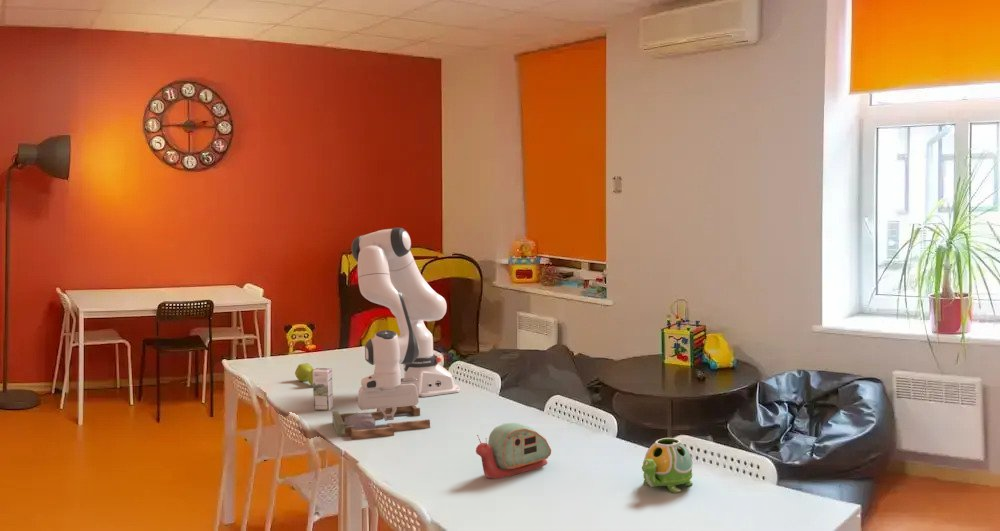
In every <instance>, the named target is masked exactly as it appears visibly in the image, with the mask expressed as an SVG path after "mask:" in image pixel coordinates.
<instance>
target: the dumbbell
mask: <svg viewBox="0 0 1000 531" xmlns="http://www.w3.org/2000/svg"><path fill="white" fill-rule="evenodd" d="M314 369H315V368H313V367H312V365H311V364H310V363H308V362H307V363H305V362H304V363H299V364H298V366H297V367H296V369H295V372H294V375H295V377H296V378H297V380H298V381H299V382H309V385H310V386H312V387H313V370H314Z"/></svg>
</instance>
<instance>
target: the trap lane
mask: <svg viewBox="0 0 1000 531" xmlns="http://www.w3.org/2000/svg"><path fill="white" fill-rule="evenodd" d="M384 412H385V413H386V414H391V412H392V407H389V408H386V411H384ZM369 413H371V415H372V417H374V419H375V421H376V420H377V421H378V420H383V419H384V414H383V413H382V411H381V408H378V409H376V411H369V412H367V411H365V412H358V411H357V412H356V411H354V412H344V413H343V412H342V413H340V412H339V410H332V412H331V414H332V417H331V418H332V425H333V427H334V429H335V432H336V433H337V436H338V437H348V436H350V438H351V439H352V440H360V439H370V438H380V437H381V438H382V437H390V436H391V437H392V436H395V432H401V431H409V430H410V431H411V430H420V429H431V420H430V419H420V420H419V419H418V420H410V421H398V422H388V423H386V424H387V426H386V427H377V428H376V427H375V429H365V430H355V429H354V425H352V426H345V425H344V421H345V418H346V417H348V416H351V415H354V414H369ZM408 416H414V417H416V416H417V417H419V416H421V408H420V407H417V405H411V406H400V407H397V410H396V412H395V414H394V418H396V417H408Z"/></svg>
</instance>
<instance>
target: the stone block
mask: <svg viewBox="0 0 1000 531" xmlns="http://www.w3.org/2000/svg"><path fill="white" fill-rule="evenodd" d="M344 425H345V426H352V425H354V429H355V430H365V429H375V428H376V420H375V419H374V417H372V415H371V413H369V414H354V415H351V416H348V417H346V418H345V421H344Z"/></svg>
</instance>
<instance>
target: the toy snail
mask: <svg viewBox="0 0 1000 531" xmlns="http://www.w3.org/2000/svg"><path fill="white" fill-rule="evenodd" d="M476 436H477V437H478V440H479V444H478V445H477V446H476V448H475V453H476V455H478V456H479V457H480V458H481V465H482V469H483V471H482V472H483V474H484V476H485V477H486V478H488V479H492V480H493V479H495V480H497V479H502V478H506V477H512V476H514V475H519V474H523V473H525V472H529V471H533V470H536V469H538V468H541V467H543V466H546V465H547V464H548V461H547V459H548V458H549V457H550V456H551V455H552V449H551V447H550V445H549V443H548V441H547V439H546V438H545V437H544V436H543V435H542V434H541V433H539V432H538V431H537V430H535V429H534V428H532V427H530V426H527V425H524V424H521V423H517V422H507V423H502V424H500V425H497V426H496V427H494V428H493V430H491V432H490V433H489V436H488V438H487V437H486V438H485V440H487V439H488V441H487V442H482V441H481V439H480V437H479V434H478V435H476Z"/></svg>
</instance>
